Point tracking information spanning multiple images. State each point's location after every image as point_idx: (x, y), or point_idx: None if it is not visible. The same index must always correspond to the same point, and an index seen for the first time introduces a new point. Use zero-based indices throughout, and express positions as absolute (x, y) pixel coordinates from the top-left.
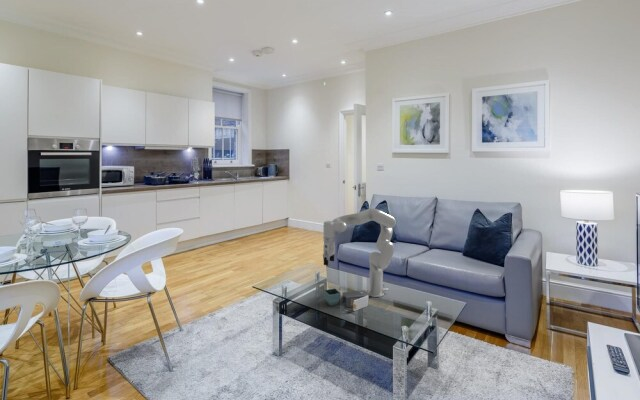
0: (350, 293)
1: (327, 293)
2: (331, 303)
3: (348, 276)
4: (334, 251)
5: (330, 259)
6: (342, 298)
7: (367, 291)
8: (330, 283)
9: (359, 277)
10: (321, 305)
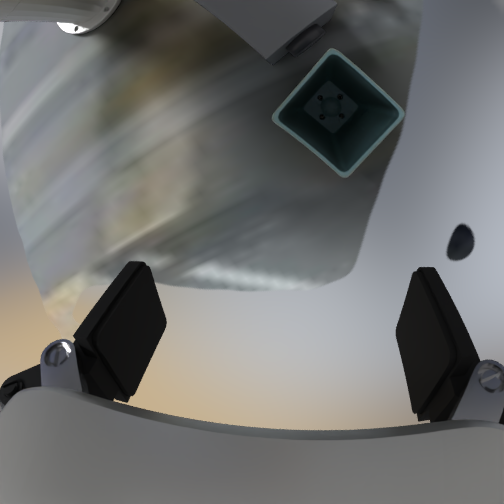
0: (253, 7)
1: (386, 134)
2: (367, 99)
3: (24, 202)
4: (30, 462)
5: (155, 330)
6: (304, 47)
7: (94, 24)
8: (112, 232)
9: (7, 160)
10: (376, 154)
